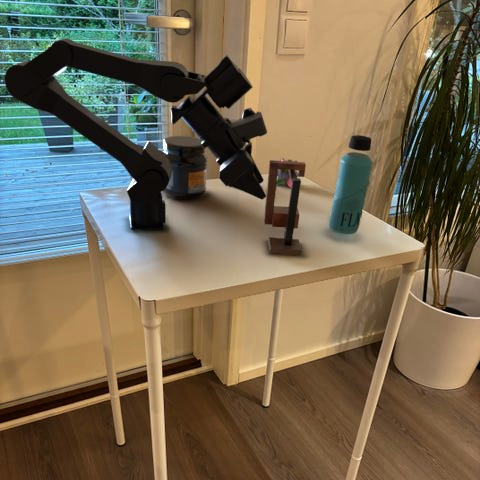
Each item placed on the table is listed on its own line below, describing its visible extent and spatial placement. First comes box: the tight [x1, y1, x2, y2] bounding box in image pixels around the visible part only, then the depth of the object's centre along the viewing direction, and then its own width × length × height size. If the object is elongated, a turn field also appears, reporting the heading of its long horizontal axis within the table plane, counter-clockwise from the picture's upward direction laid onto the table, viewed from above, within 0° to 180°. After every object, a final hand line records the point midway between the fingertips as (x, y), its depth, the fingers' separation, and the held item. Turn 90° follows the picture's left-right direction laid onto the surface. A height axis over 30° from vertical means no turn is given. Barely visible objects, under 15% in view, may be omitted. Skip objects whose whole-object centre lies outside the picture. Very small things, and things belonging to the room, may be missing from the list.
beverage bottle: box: [328, 134, 374, 235], centre depth 101 cm, size 6×7×20 cm
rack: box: [267, 159, 303, 257], centre depth 99 cm, size 6×16×14 cm, turn 1°
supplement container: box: [162, 135, 209, 200], centre depth 116 cm, size 10×10×12 cm
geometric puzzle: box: [276, 157, 301, 189], centre depth 129 cm, size 7×7×8 cm
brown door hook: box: [263, 159, 307, 229], centre depth 100 cm, size 7×4×12 cm, turn 91°
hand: (263, 189), depth 99 cm, fingers open, 9 cm apart
